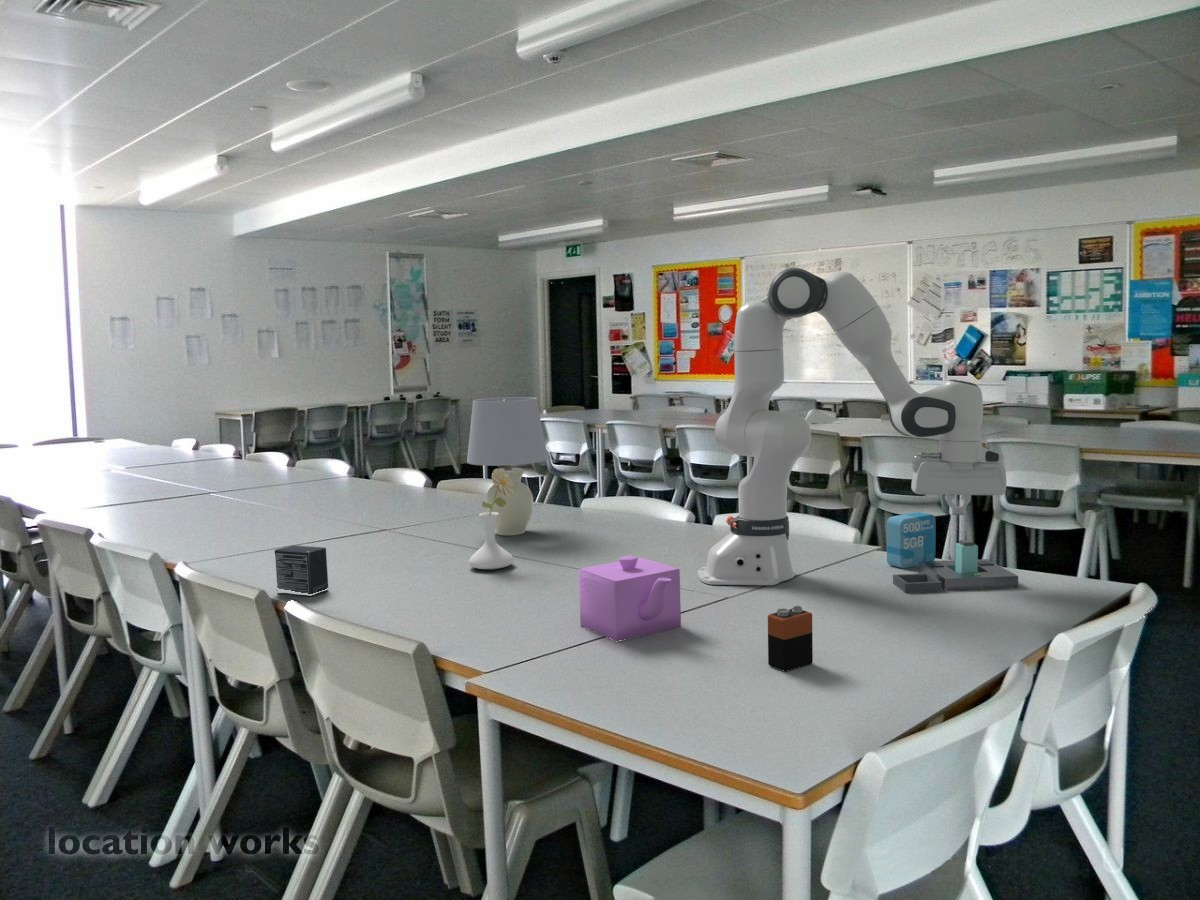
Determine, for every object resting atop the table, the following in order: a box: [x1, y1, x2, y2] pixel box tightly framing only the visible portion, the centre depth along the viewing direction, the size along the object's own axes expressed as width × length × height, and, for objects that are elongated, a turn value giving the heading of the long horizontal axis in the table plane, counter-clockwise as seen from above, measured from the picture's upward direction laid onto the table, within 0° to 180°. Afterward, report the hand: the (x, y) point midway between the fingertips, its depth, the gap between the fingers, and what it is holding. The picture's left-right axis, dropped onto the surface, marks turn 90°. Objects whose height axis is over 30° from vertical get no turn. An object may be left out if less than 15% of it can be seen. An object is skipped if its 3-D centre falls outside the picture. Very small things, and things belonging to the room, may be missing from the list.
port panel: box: [918, 558, 1019, 591], centre depth 213 cm, size 16×16×3 cm
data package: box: [886, 511, 937, 569], centre depth 228 cm, size 12×4×12 cm, turn 120°
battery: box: [767, 605, 814, 672], centre depth 161 cm, size 4×7×10 cm, turn 123°
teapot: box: [578, 555, 682, 642], centre depth 185 cm, size 15×25×14 cm, turn 33°
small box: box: [274, 544, 329, 594], centre depth 221 cm, size 11×6×10 cm, turn 65°
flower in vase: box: [468, 468, 515, 570], centre depth 239 cm, size 13×11×25 cm
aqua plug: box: [954, 539, 979, 573], centre depth 213 cm, size 4×4×9 cm
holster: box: [892, 573, 943, 594], centre depth 208 cm, size 8×8×2 cm
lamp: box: [466, 396, 549, 537], centre depth 281 cm, size 24×24×40 cm
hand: (957, 514), depth 212 cm, fingers closed
